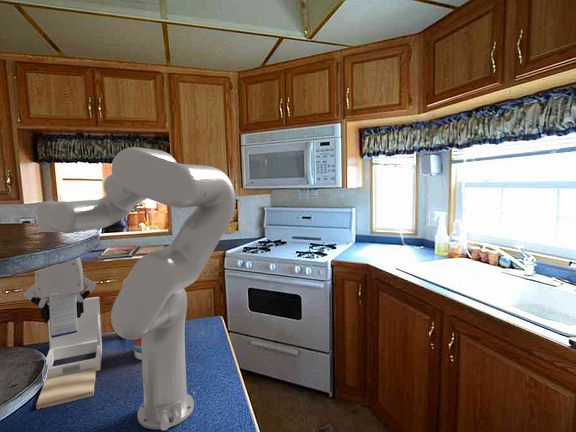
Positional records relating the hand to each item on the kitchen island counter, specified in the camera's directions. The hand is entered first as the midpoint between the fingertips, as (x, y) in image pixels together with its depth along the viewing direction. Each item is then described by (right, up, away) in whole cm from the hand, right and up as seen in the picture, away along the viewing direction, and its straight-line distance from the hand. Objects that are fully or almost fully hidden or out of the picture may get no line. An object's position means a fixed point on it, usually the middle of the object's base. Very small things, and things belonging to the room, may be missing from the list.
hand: (63, 317), depth 89 cm
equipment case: (-6, -18, +14) cm, 24 cm away
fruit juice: (+14, -18, +21) cm, 31 cm away
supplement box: (0, -4, 0) cm, 4 cm away
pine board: (0, -19, +2) cm, 20 cm away
